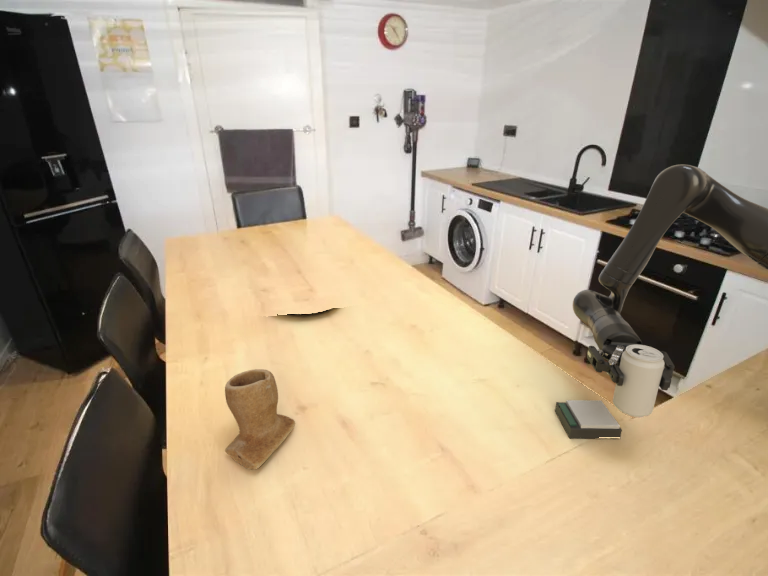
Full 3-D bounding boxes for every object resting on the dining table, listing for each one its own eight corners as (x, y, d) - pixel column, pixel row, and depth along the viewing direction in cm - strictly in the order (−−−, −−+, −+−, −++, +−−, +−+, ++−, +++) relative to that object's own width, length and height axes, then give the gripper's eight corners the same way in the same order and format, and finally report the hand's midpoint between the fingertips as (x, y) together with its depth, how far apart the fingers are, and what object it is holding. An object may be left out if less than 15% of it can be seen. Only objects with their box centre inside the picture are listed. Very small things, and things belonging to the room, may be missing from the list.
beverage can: (618, 394, 79) (629, 339, 75) (656, 408, 75) (670, 351, 71) (606, 409, 75) (617, 352, 71) (646, 425, 71) (660, 365, 67)
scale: (600, 411, 91) (602, 399, 90) (620, 439, 83) (622, 426, 82) (554, 411, 92) (556, 399, 91) (569, 438, 83) (571, 426, 82)
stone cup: (258, 414, 94) (249, 357, 88) (303, 426, 89) (295, 366, 84) (209, 460, 81) (195, 396, 75) (258, 477, 76) (247, 410, 71)
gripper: (581, 320, 86) (601, 361, 71) (657, 325, 83) (696, 369, 68) (576, 351, 89) (595, 397, 73) (650, 357, 85) (685, 406, 70)
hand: (643, 383), depth 71 cm, fingers closed on beverage can, 6 cm apart
